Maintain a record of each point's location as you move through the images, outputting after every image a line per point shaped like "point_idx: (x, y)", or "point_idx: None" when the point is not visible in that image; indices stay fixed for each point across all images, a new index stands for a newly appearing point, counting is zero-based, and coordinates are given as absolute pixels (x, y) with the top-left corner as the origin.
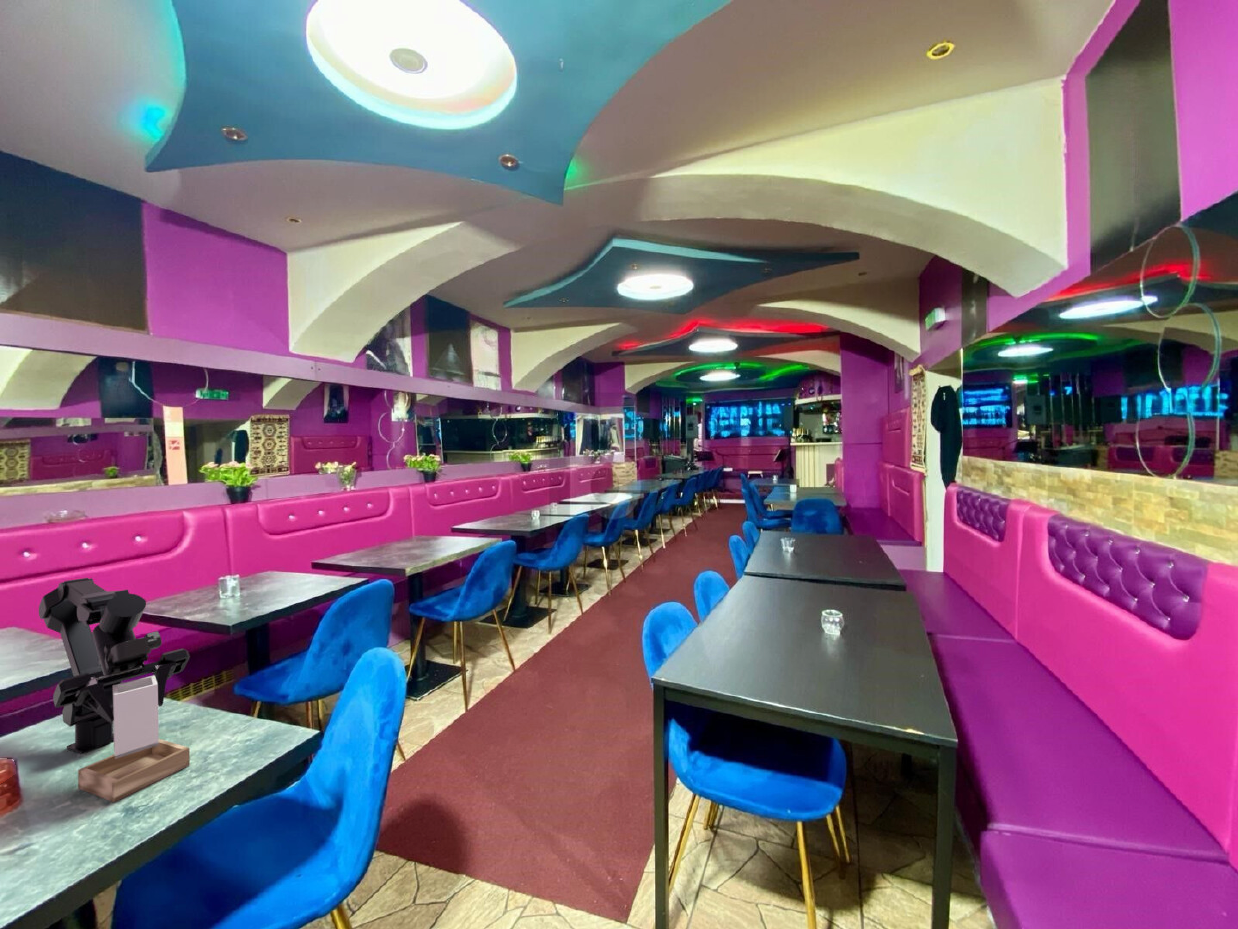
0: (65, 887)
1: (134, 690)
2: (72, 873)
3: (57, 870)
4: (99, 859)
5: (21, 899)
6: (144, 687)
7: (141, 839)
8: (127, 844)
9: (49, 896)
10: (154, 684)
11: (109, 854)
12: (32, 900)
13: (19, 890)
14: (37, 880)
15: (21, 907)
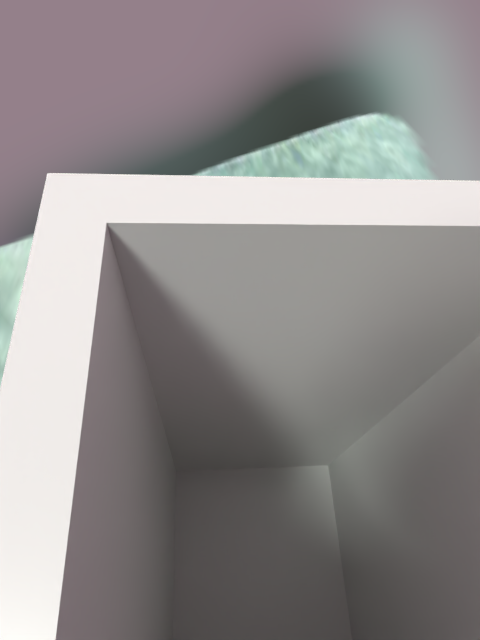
0: (341, 122)
1: (377, 181)
2: (339, 150)
3: (367, 177)
4: (301, 158)
5: (402, 139)
6: (243, 184)
7: (232, 166)
8: (257, 168)
9: (360, 118)
10: (89, 199)
11: (285, 160)
12: (383, 125)
13: (414, 164)
14: (394, 171)
15: (394, 120)
